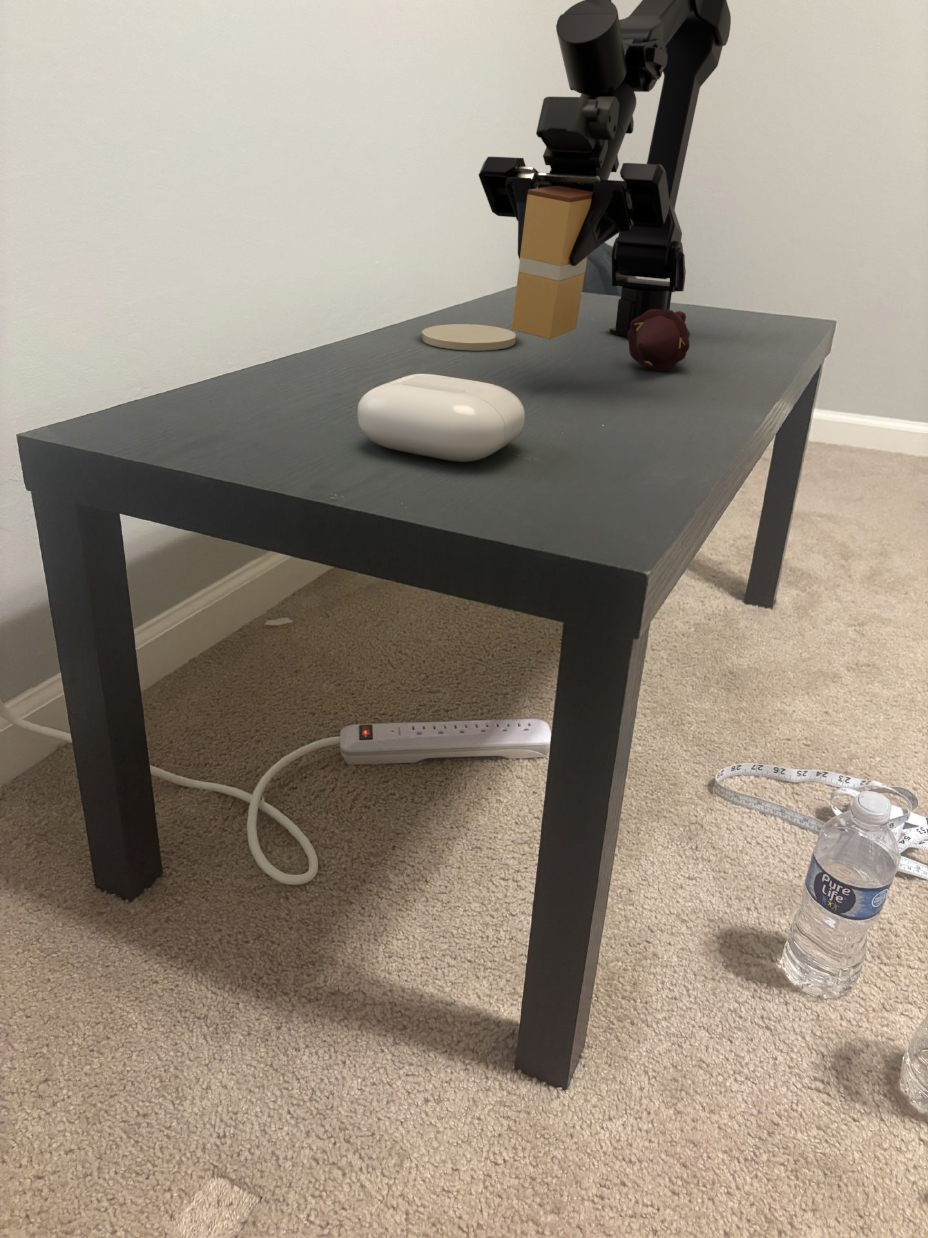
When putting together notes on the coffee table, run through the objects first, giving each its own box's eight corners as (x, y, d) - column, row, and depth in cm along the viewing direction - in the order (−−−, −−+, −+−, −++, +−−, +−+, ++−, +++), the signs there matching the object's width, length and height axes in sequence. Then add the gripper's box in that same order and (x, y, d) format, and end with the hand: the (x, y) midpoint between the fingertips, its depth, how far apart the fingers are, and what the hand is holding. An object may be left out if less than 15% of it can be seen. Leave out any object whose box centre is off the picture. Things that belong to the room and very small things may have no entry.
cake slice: (538, 318, 96) (556, 185, 89) (576, 328, 94) (598, 192, 87) (510, 329, 92) (528, 189, 85) (550, 339, 90) (570, 197, 83)
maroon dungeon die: (685, 325, 95) (715, 318, 107) (622, 300, 97) (658, 295, 109) (659, 388, 98) (690, 373, 111) (598, 362, 100) (636, 350, 113)
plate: (482, 328, 123) (483, 321, 123) (534, 346, 114) (534, 337, 114) (405, 335, 118) (405, 327, 117) (453, 354, 109) (453, 345, 108)
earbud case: (405, 421, 83) (405, 361, 80) (535, 445, 78) (540, 382, 75) (342, 450, 75) (339, 384, 72) (482, 479, 70) (485, 409, 67)
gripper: (490, 63, 88) (434, 192, 85) (678, 63, 81) (625, 205, 77) (519, 153, 98) (469, 272, 95) (688, 161, 91) (641, 290, 87)
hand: (545, 260), depth 88 cm, fingers closed on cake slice, 5 cm apart
